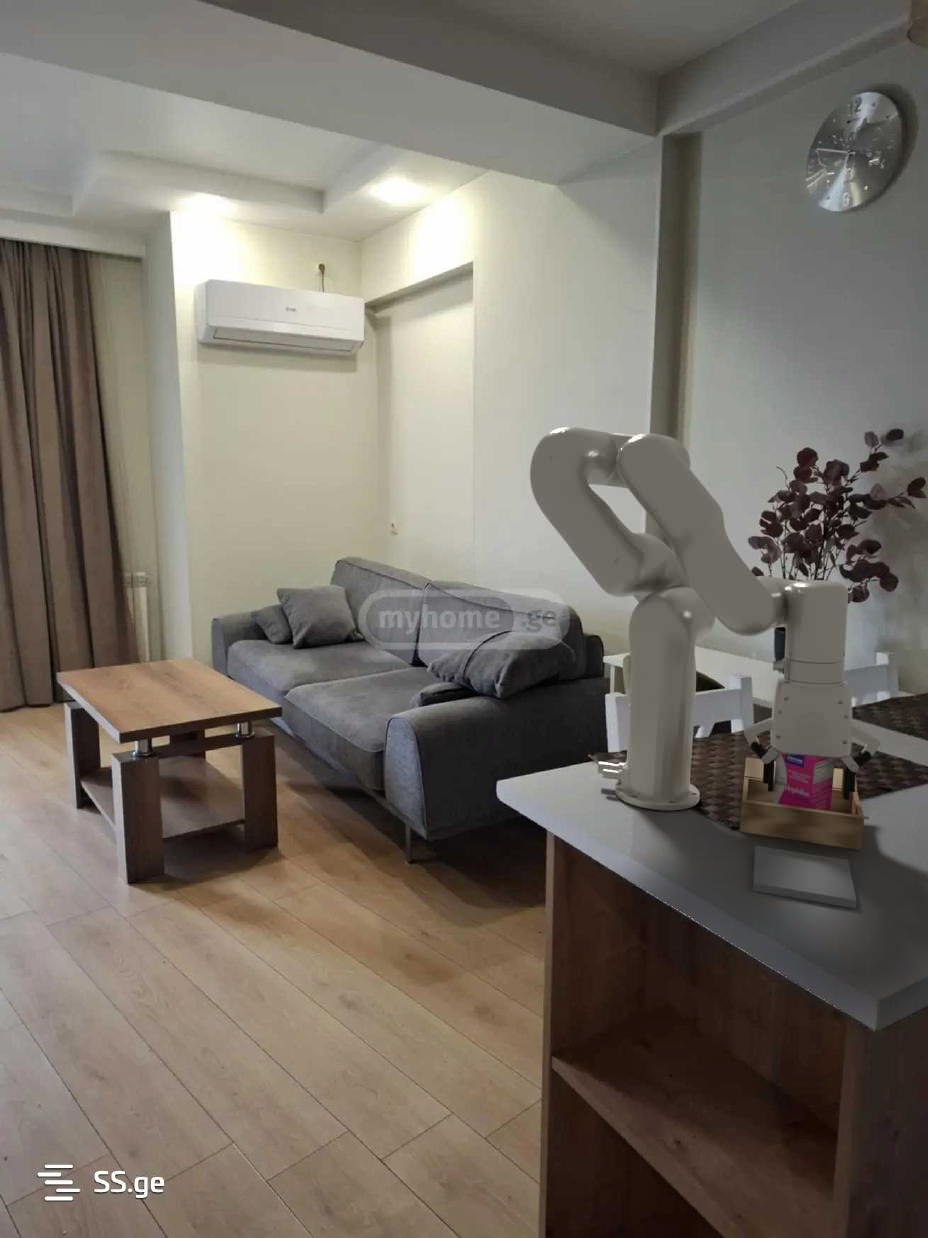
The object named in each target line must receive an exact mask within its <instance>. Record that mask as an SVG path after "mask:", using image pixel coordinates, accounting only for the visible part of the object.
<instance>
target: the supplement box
mask: <svg viewBox="0 0 928 1238" xmlns="http://www.w3.org/2000/svg"><path fill="white" fill-rule="evenodd" d="M775 761H776V765H775V778H774V789H773V802H772V803H775V804H782V805H789V806H796V807H803V808H811V809H818V810H825V811H830V808H831V797H832V786H833V776H834V768H835V763H836V759H833V758H820V757H817V756H809V755H788V754H782V753H779V754H778V755H777V756H776V757H775Z"/></svg>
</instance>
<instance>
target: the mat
mask: <svg viewBox="0 0 928 1238" xmlns="http://www.w3.org/2000/svg"><path fill="white" fill-rule="evenodd" d="M753 861H754V863H753V878H752V879H753V882H752V883H753V884H752V892H757V893H764V894H769V895H774V896H781V897H787V898H791V899H792V898H793V899H798V900H803V901H810V902H815V903H820V904H821V903H822V904H827V905H833V906H839V907H845V908H850V909H855V910H856V909H857V895H856V891H855V885H854V882H853V876H852V872H851V867H850V863H849V859H843V858H836V857H832V856H831V857H830V856H824V855H817V854H811V853H804V852H799V851H798V852H797V851H793V850H792V851H791V850H784V849H779V848H773V847H767V846H766V847H765V846H762V845H761V846H759V845H755V846H754V860H753Z"/></svg>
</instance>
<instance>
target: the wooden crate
mask: <svg viewBox="0 0 928 1238" xmlns="http://www.w3.org/2000/svg"><path fill="white" fill-rule="evenodd" d="M775 765H776V760H774V778H775ZM744 766H745V767H744V776H743V777H744V778H743V785H742V786H743V787H742V797H741V808H740V809H741V810H740V822H739V832H740V833H746V834H753V835H760V836H766V837H773V838H778V839H779V838H780V839H786V840H791V841H792V840H793V841H799V842H807V843H812V844H819V845H826V846H833V847H838V848H845V849H852V850H858V851H859V850H860V851H861V850H862V845H863V844H862V843H863V833H864V826H865V825H864V824H865V823H864V821H865V820H870V817H869V816H865V815H864V813H863V808H862V805H861V801H860V797H859V794H858V786H857V785H858V783H857V776H856V777H855V792H850V793H849V800H845V799H844V798H843V795H842V777H843V768H835V767H834V776H833V786H832V797H831V808H830V811H825V810H818V809H811V808H803V807H796V806H789V805H782V804H775V803H772V802H773V791H772V792H768V784H765V783H763V767H764V763H763V762H762V760H761V759H760V758H754V757H745V765H744ZM773 789H774V786H773Z"/></svg>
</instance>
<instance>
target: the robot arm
mask: <svg viewBox="0 0 928 1238" xmlns="http://www.w3.org/2000/svg"><path fill="white" fill-rule="evenodd" d="M529 470H530V471H529V480H530V488H531V491H532V495H533V497H534V500H535V502H536V505H538V506H537V507H539V509H540V510H541V512H542V514H543V515H544V517H545V518H546V519H547V520H548V522H549V523H550V525H551V526H552V527H553V528H554V529H555V530H556V532H557V533H559V536H560V537H562V539H563V540H564V542H565V543H566V544H567V546H568V547H569V548H570V550H571V551H572V552H573V554H574V555H575V556H576V557H577V559H578V560H579V562H580V563H581V564H582V565H583V566H584V568H585V569H586V570H587V572H588V573H589V574H590V576H591V577H592V578H593V580H594V581H595V582H596V583H597V585H599V587H600V588H601V589H602V590H603V591H604V592H605V593H607V594H608V595H610V596H612V597H617V598H618V597H619V598H625V597H632V596H633V597H634V598H635V600H636V601H637V605H636V606H635V607H634V609H633V611H632V612H631V613H632V614H631V615H630V618H629V619H630V620H629V625H628V641H629V652H630V689H629V695H630V697H629V713H628V716H629V717H628V728H627V729H628V730H627V731H628V732H627V749H626V750H627V751H626V752H627V753H626V760H625V762H623V761H620V762H619V763H612V762H610V761H601V760H599V761H598V765H597V773H598V774H600V775H602V778H604V779H607V780H608V779H610V780H611V779H612V780H617V781H616V783H615V785H614V794H615V795H616V796H617V797H618V799H620V800H622V801H623V802H625V803H627V804H630V805H633V806H636V807H638V808H644V809H648V810H654V811H680V810H686V809H689V808H692V807H693V808H694V806H696V805H697V804H698V803H700V802H699V801H700V798H701V797H700V795H701V793H700V790H699V789H698V788H697V787H696V786H695V785H693V784H692V783H691V768H692V756H693V754H692V753H693V739H694V726H695V725H694V723H695V708H696V690H697V667H696V666H697V664H696V655H695V654H696V651H695V650H696V644H699V643H700V642H702V641H703V640H705V639H706V638H707V637H708V636H709V635H710V633H711V632H712V631H713V629H714V626H715V622H716V619H717V620H718V622H720V623H721V625H723V627H724V628H726V629H728V630H729V631H730V632H732V633H734V634H736V635H737V636H740V637H748V638H749V637H757V636H759V635H762V634H764V633H766V632H768V631H769V630H772V629H775V628H785V638H784V639H785V641H784V643H785V644H784V658H782V659H781V660H778V661H776V660H773V662H772V671H774V672H775V671H776V672H778V673H781V675H783V676H781V677H779V678H778V680H777V682H776V683H777V684H776V687H775V690H774V691H775V692H774V698H773V703H772V711H771V717H769V718H767V719H764V720H761V721H758V722H756V723H754V724H751V725H748V726H746V727H745V728H744V729H743V735H744V737H745V739H746V741H747V743H748V744H749V746H750V748H751V749H750V750H751V751H753V752H754V753H755V755H756V757H759V758H758V759H761V760H762V762H763V763H764V767H763V783H765V784H768V792H772V791H773V786H774V761H775V759H776V756H777V755H778V754H779V753H782V754H788V755H809V756H817V757H820V758H833V759H835V760H837V759H839V760H841V761H842V762H843V763H844V766H843V765H842V769H843V777H842V795H843V798H844V799H845V800H849V793H850V792H855V777H856V778H857V774H856V773H857V772H858V771H859V769H860V768H862V767H863V766H864V765H866V764H867V763H868V762H869V761H871V759H872V757H873V756H874V755H875V753H876V752H877V750H878V749H879V747H880V746H881V741H880V738H878V737H876V736H875V735H874V734H871V733H870V732H868V731H866V730H864V729H863V728H861V727H859V726H857V725H855V724H853V705H852V701H853V700H852V694H851V693H852V692H851V688H850V684H849V682H847V681H844V677H845V676H844V674H845V659H846V656H845V655H846V639H847V637H846V636H847V620H848V605H849V603H848V602H849V601H848V600H849V593H848V589H847V587H846V586H845V584H843V583H841V582H838V581H833V580H825V579H823V580H822V579H805V580H794V579H787V578H786V579H785V578H782V577H781V578H780V577H776V576H768V575H759V576H756V575H755V574H754V573H753V572H752V570H751V569H750V568H749V567H748V565H747V564H746V563H745V561H744V560H743V559H742V558H741V556H740V555H739V554H738V552H737V551H736V549H735V547H734V546H733V544H732V541H730V539H729V535H727V530H726V527H725V519H724V517H725V516H724V513H723V509H722V508H721V506H720V504H719V503H718V501H717V500H716V499H715V498H714V497H713V496H712V494H711V493H710V492H709V491H708V490H707V488H706V487H705V486H704V485H703V483H702V482H701V481H700V480H699V478H698V477H697V476H696V474H694V472H693V471H692V470H691V459H690V455H689V452H688V450H687V449H686V447H685V445H683V444H682V443H681V442H680V441H679V440H677V439H676V438H674V437H672V436H668V435H663V434H659V433H653V432H652V433H651V432H645V433H639V434H629V433H621V432H620V433H618V432H609V431H600V430H593V429H588V428H583V427H576V426H575V427H574V426H567V427H559V428H556V429H554V430H551V431H549V432H547V434H545V435H544V436H543V437H542V438H541V439H540V440H539V442H538V444H537V445H536V447H535V449H534V452H533V454H532V457H531V462H530V469H529ZM590 485H596V486H607V487H615V488H622V489H628V491H629V492H630V493H631V494H632V495H633V497H634V498H635V500H636V501H637V502H638V503H639V505H641V507H642V508H643V510H644V511H645V512H646V513H647V514H648V516H649V517H650V518H651V520H652V521H653V522H654V524H655V525H656V526H657V528H658V529H659V531H661V533H662V534H663V535H664V537H665V538H666V539H667V540H668V542H669V543H670V545H671V547H672V549H673V551H672V550H671V548H670V547H669V546H668V545H667V544H666V543H665V542H664V541H662V540H661V539H659V538H658V537H657V536H655V535H653V534H650V533H645V532H632V531H631V530H630V529H629V528H628V527H627V526H626V525H625V524H624V523H623V521H621V519H620V518H619V517H618V516H617V515H616V513H615V512H614V510H613V509H612V508H611V507H610V505H609V504H608V503H607V502H606V501H605V500H604V499H603V498H602V497H601V496H600V495H598V494H597V493H596V492H595V491H594V490H593V489H592V488H591V486H590ZM767 731H770V744H769V745H768V746H767V747H765V746H764V745H763V744H762V742H760V741H759V739H758V737H757V735H759V734H762V733H764V732H767ZM853 737H854V738H855V739H857V740H859V741H861V742H862V743H864V744H865V745H864V747H863V748H862V750H860V751H858V752H857V753H855V755H853V754H852V753H851V752H852V748H853V747H852V745H853Z"/></svg>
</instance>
